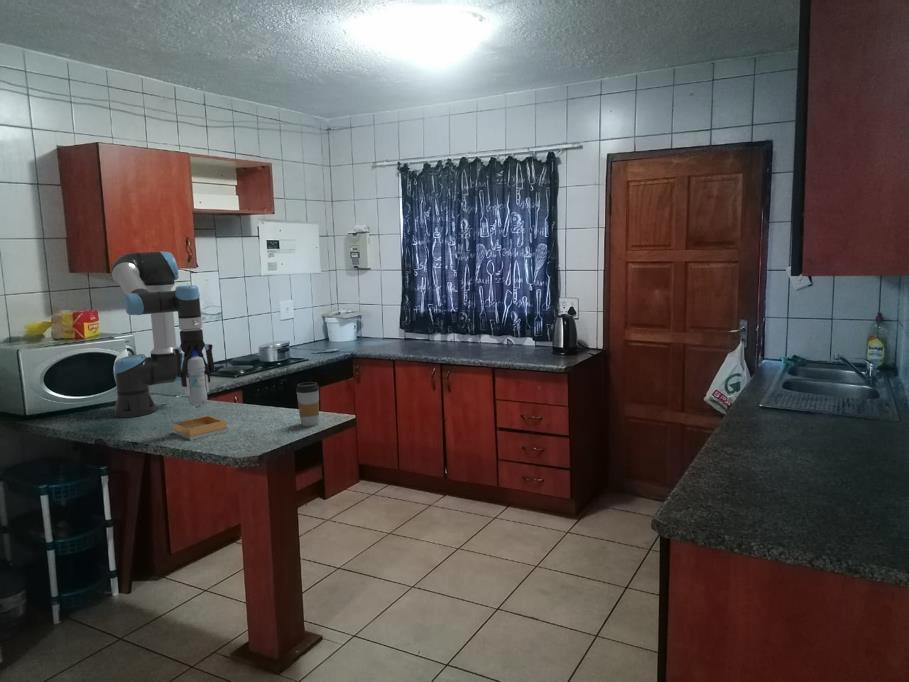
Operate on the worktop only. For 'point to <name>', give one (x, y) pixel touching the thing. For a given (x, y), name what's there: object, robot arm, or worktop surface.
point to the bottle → (196, 379)
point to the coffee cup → (308, 403)
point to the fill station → (200, 427)
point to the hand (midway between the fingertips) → (197, 393)
